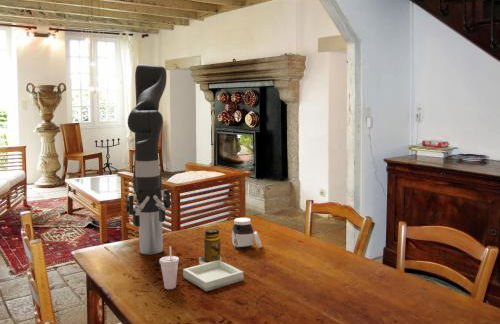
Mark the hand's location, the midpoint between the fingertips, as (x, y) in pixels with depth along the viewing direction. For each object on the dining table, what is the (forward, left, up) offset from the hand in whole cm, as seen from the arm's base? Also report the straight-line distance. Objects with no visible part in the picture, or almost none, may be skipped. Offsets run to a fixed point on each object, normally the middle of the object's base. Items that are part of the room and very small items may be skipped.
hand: (149, 224), depth 152 cm
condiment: (-12, +30, -23) cm, 39 cm away
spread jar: (-16, +51, -23) cm, 58 cm away
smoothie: (+1, +6, -22) cm, 23 cm away
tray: (+4, +21, -22) cm, 31 cm away
